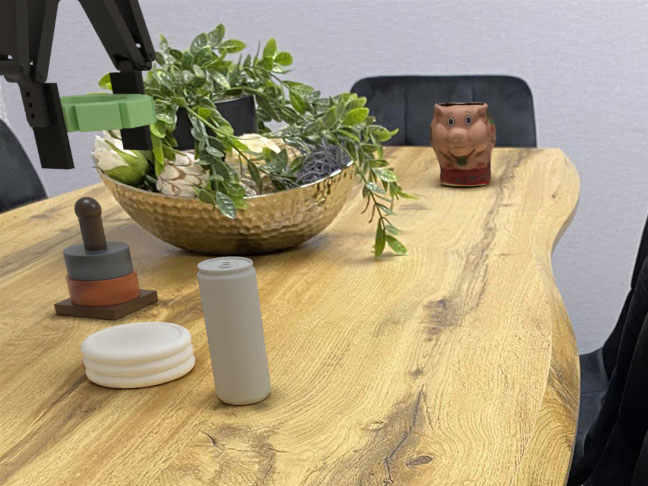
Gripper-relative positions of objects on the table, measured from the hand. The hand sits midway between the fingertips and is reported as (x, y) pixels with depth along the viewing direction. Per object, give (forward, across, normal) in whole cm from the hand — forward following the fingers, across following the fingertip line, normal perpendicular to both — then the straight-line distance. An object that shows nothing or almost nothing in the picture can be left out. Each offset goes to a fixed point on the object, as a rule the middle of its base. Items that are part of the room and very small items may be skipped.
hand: (100, 158), depth 84 cm
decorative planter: (+19, +102, +4) cm, 104 cm away
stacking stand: (+19, +16, +17) cm, 30 cm away
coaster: (+20, 0, 0) cm, 20 cm away
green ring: (-3, 0, 0) cm, 3 cm away
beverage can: (+20, -4, -13) cm, 24 cm away
